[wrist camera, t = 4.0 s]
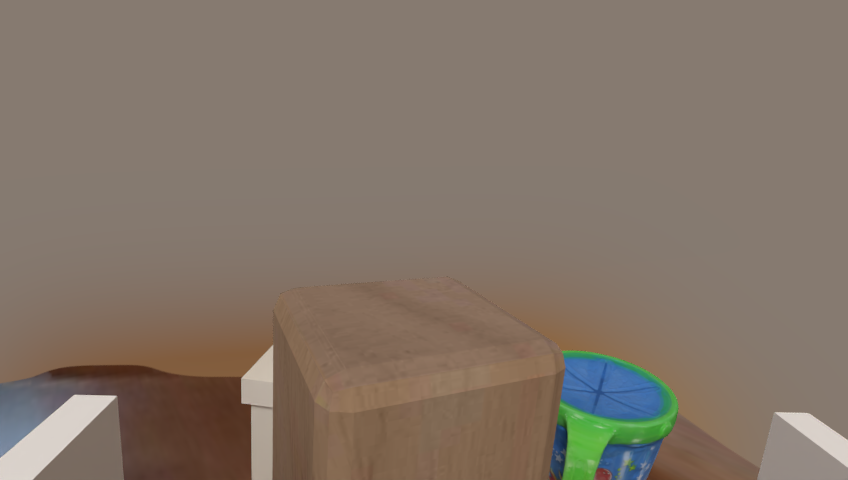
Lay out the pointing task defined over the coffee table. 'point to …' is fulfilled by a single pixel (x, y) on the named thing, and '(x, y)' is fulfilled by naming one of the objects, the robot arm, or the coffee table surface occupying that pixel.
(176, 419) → the coffee table surface
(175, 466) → the coffee table surface
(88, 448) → the robot arm
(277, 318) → the block
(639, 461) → the snack cup
